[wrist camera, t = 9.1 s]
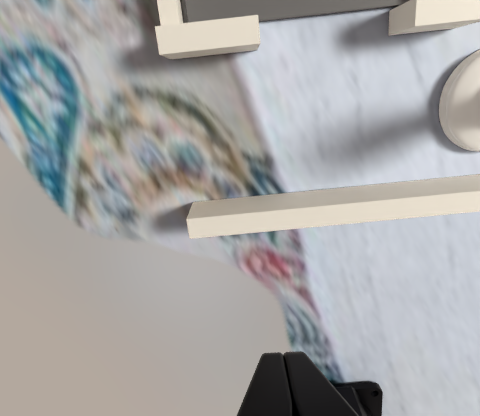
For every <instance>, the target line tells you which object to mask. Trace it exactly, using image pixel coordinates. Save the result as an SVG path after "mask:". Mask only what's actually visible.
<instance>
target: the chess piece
mask: <svg viewBox="0 0 480 416" xmlns="http://www.w3.org/2000/svg"><path fill="white" fill-rule="evenodd" d="M439 119H440V123H441V126H442V129H443V131H444V133H445V134H446V136H447V137H448V138H449V139H450V140H451V141H452V142H453V143H454V144H456V145H457V146H459V147H461V148H463V149H466V150H470V151H480V50H478V51H476V52H475V53H473V54H471V55H470V56H468V57H467V58H466V59H465V60H463V61H462V62H461V63H460V64H459V65H458V66H457V67H456V69H455V70H454V71H453V72H452V74H451V75H450V77H449V78H448V80H447V82H446V84H445V86H444V88H443V91H442V94H441V97H440V102H439Z"/></svg>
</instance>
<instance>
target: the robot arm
mask: <svg viewBox="0 0 480 416" xmlns="http://www.w3.org/2000/svg"><path fill="white" fill-rule="evenodd" d="M382 394H383V393H382V390H381V388H380V386H379V384H377V383H361V384H349V385H336V386H333V385H332V384H331V383H330V382H329V380H328V379H327V378H326V377H325V376H324V375H323V373H322V372H321V371H320V370H319V369H318V368H317V366H316V365H315V364H314V363H313V362H312V361H311V359H310V358H309V357H308V356H307V355H306V354H305V353H304V352H286V353H284V355H283V354H281V353H279V352H278V353H264V354H263V355H262V356H261V358H260V361H259V363H258V365H257V368H256V370H255V373H254V375H253V378H252V380H251V382H250V385H249V387H248V390H247V392H246V395H245V397H244V399H243V402H242V405H241V407H240V409H239V412H238V414H237V416H381V415H382Z"/></svg>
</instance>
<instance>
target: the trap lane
mask: <svg viewBox="0 0 480 416" xmlns="http://www.w3.org/2000/svg"><path fill="white" fill-rule="evenodd" d="M185 3H186V10H187V18H188V23H183V17H182V10H181V2H180V0H157V4H158V11H159V17H160V23H161V26H155V31H156V37H157V43H158V49H159V55H161V56H164V57H166V58H168V59H171V60H172V59H181V58H190V57H199V56H208V55H217V54H226V53H236V52H245V51H254V50H257V49H258V47H259V45H260V33H259V22H261V21H270V20H279V19H288V18H297V17H305V16H314V15H323V14H332V13H341V12H350V11H359V10H368V9H376V8H385V7H394V6H398V7H396V8H394V9H392V10H390V11H389V32H388V36H389V35H399V34H408V33H417V32H426V31H435V30H444V29H453V28H458V27H461V26H465V25H469V24H472V23H476V22H480V0H185ZM478 211H480V174H476V175H465V176H455V177H445V178H435V179H425V180H414V181H404V182H394V183H384V184H373V185H363V186H353V187H343V188H333V189H322V190H312V191H302V192H292V193H281V194H271V195H261V196H251V197H240V198H230V199H220V200H210V201H200V202H193V204H192V206H191V209H190V211H189V214H188V216H187V219H186V220H187V226H188V232H189V238H190V239H193V238H203V237H214V236H224V235H235V234H246V233H256V232H267V231H277V230H288V229H298V228H309V227H320V226H330V225H341V224H351V223H362V222H372V221H383V220H394V219H404V218H415V217H425V216H436V215H446V214H457V213H468V212H478Z"/></svg>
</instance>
